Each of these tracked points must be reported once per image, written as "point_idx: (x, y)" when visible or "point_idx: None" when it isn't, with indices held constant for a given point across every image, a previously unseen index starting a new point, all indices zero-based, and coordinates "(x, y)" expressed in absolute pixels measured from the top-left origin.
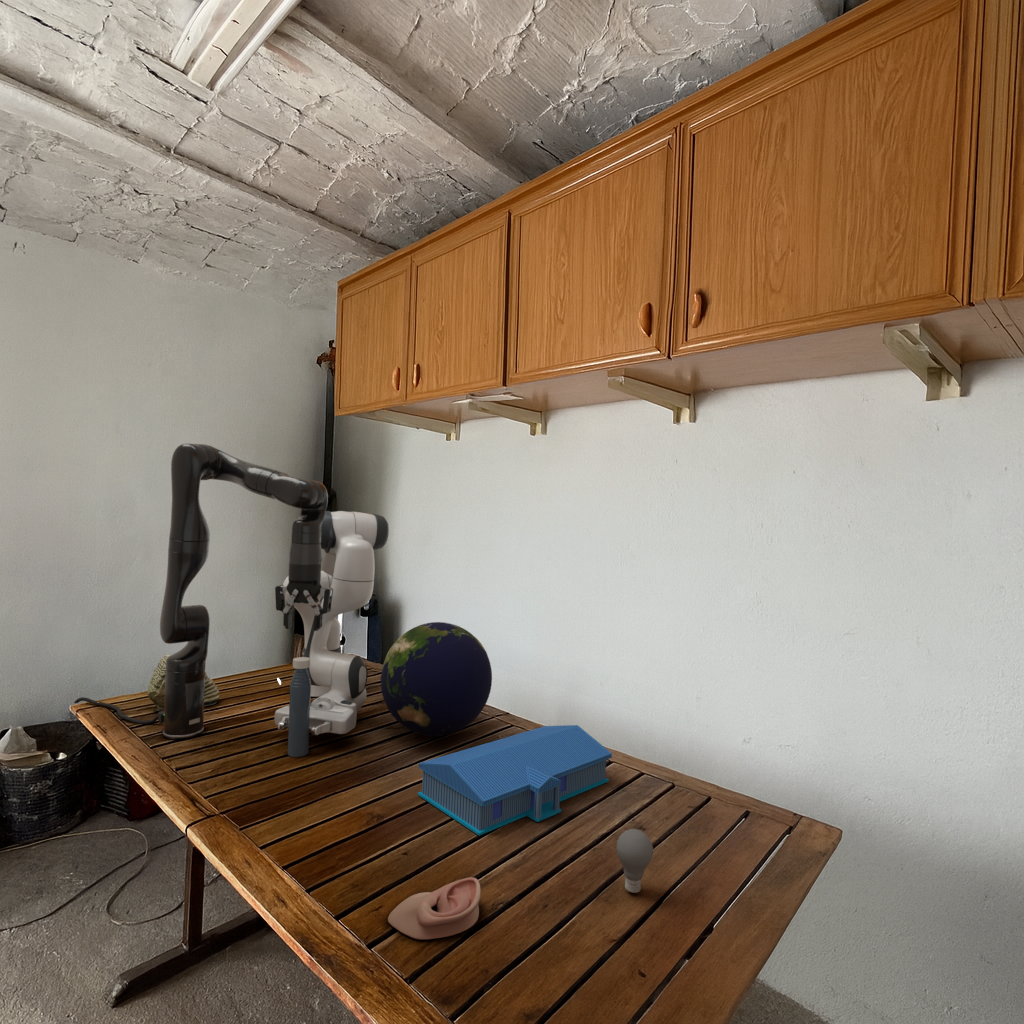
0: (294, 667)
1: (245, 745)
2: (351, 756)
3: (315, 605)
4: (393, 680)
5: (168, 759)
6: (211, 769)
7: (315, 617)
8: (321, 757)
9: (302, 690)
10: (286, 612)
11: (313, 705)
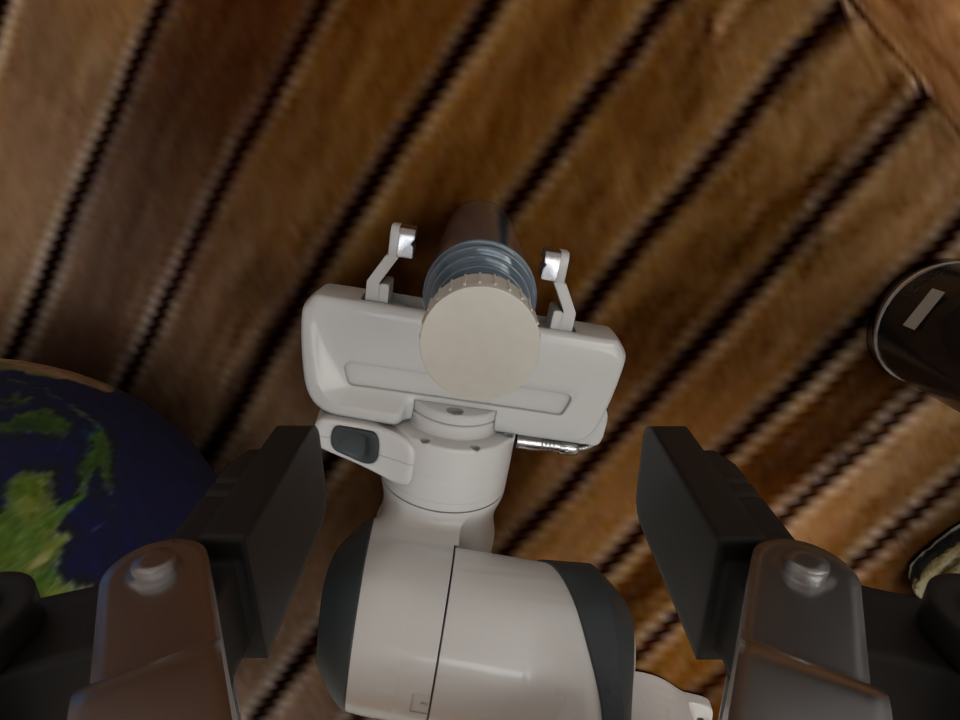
0: (507, 279)
1: (681, 263)
2: (293, 244)
3: (85, 687)
4: (31, 454)
5: (902, 91)
6: (718, 35)
7: (232, 522)
8: (387, 216)
9: (448, 246)
10: (767, 553)
11: (498, 435)
